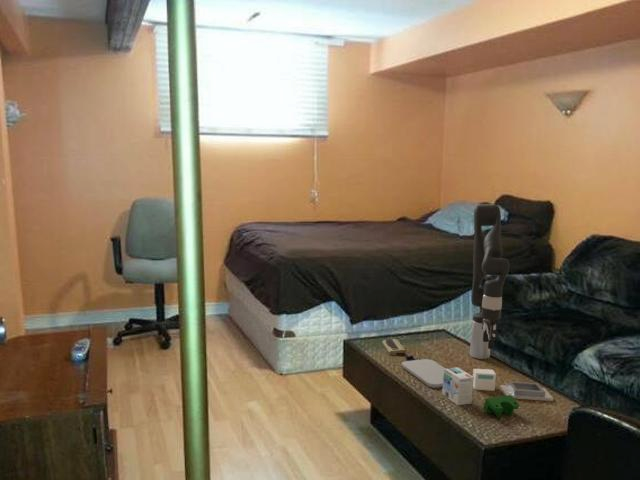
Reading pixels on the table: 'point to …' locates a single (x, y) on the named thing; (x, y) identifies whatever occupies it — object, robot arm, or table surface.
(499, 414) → the clamp
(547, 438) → the table surface
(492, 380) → the block
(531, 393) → the grey flat block
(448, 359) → the table surface
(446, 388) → the light bulb box
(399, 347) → the computer
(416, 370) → the tablet
